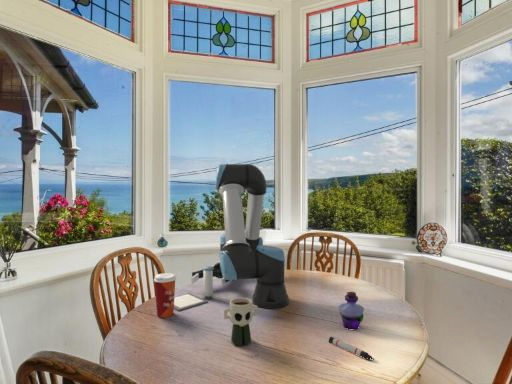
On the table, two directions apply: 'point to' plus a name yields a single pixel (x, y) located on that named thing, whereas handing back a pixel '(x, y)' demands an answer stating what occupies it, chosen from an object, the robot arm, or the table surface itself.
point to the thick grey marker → (208, 282)
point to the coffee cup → (165, 294)
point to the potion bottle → (351, 311)
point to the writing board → (187, 301)
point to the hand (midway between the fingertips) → (207, 281)
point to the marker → (349, 348)
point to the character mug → (240, 319)
